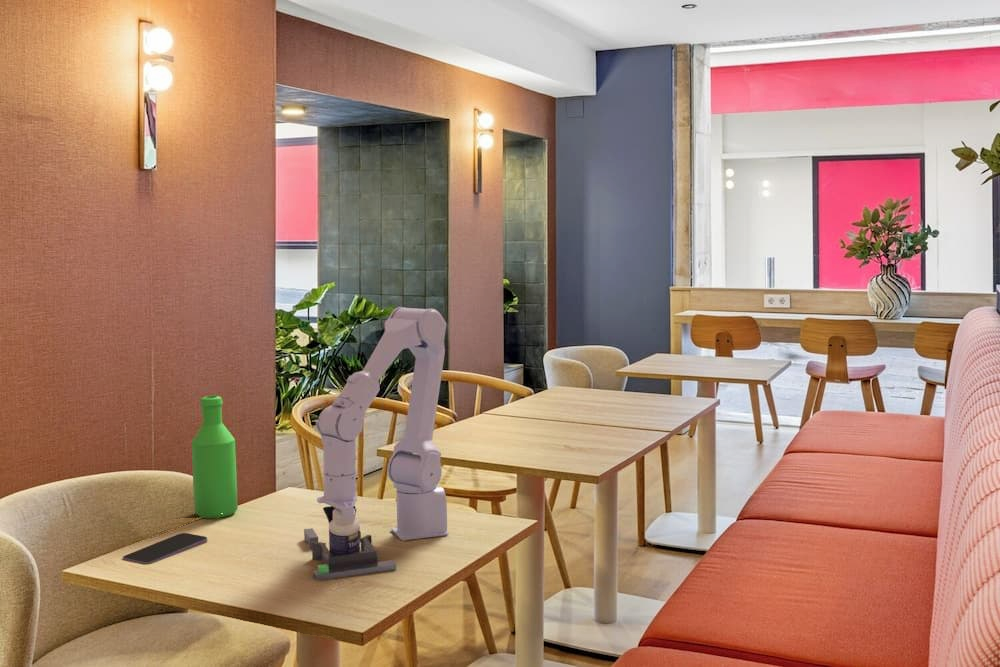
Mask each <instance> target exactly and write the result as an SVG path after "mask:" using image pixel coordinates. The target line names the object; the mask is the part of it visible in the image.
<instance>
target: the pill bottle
mask: <svg viewBox="0 0 1000 667" xmlns="http://www.w3.org/2000/svg"><path fill="white" fill-rule="evenodd" d="M356 513H357V512H356ZM356 513H355V509H354V517H349V518H342V517H341V510H340V509H337V508H335V509H334V510H333V520H332V521H331V522H330V524H329V523H328V540H329V541H328V550H329V551H330V553H331V554H332V555H339V554H347V553H354V552H361V542H360V532H361V530H360V529H361V528H360V527H361V526H360V522H359V520H358V519H357V518H356Z"/></svg>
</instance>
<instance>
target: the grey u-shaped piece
mask: <svg viewBox="0 0 1000 667" xmlns="http://www.w3.org/2000/svg"><path fill="white" fill-rule="evenodd" d="M303 536H304V537H303V538H304V541H305V543H306V545H307V547H308V548H309V549H312V543H313V542H319V536H318V535H317V533H316V532H315V530H314V529H313V528H311V527H310V528H304V529H303ZM361 538H362V532H361V531H360V543H361Z"/></svg>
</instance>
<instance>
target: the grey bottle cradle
mask: <svg viewBox="0 0 1000 667" xmlns="http://www.w3.org/2000/svg"><path fill="white" fill-rule="evenodd" d="M372 542H373V541H372V534H371V535H370V534H367V535H364V536H363V537H361V542H360V552H354V553H347V554H339V555H332V554H331V553H330V551H329V547H327V543H326V542H322V541H321V542H320V541H318V542H313V543H312V548H311V554H312V555H311V558H312V560H319V561H320V562H321V564H318V565H317V570H313V571H312V573H313V574H312V575H313V579H314V580H315V582H319V581H326V580H334V579H341V578H348V577H354V576H361V575H367V574H376V573H382V572H383V573H384V572H390V571H396V570H397V563H396V562H395V561H394V560H392V559H390V560H384V561H378V549H376V547H374V545H373V543H372Z"/></svg>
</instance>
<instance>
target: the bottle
mask: <svg viewBox="0 0 1000 667" xmlns="http://www.w3.org/2000/svg"><path fill="white" fill-rule="evenodd" d="M222 398H223V397H222V396H218V395H207V396H203V397H202V398H201V399H200V404H199V406H200V407H202V408H201V409H202V410H201V411H202V412H201V413H202V425H201V426H200V427H199V430H198V432H197V433H196V434H195V436H194V437H193V438H192V441H191V460H192V462H191V463H192V466H191V467H192V483H193V504H194V505H193V506H194V514H196V515H197V516H198V517H200V518H202V519H207V518H209V520H210V519H211V518H214V519H222V518H227V517H229V516H232V515H233V514H235V513H236V511H237V510H238V507H239V506H238V483H237V482H238V481H237V480H238V479H237V461H236V460H237V457H236V440H235V437H234V436H233V434H231V432H230V431H229V430H228V429H227V426H226V425H224V423H223V414H222V413H223V412H222V410H223V409H222V406H223V404H224V402H223V399H222ZM221 513H223V514H221ZM225 516H226V517H225ZM221 517H222V518H221Z"/></svg>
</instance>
